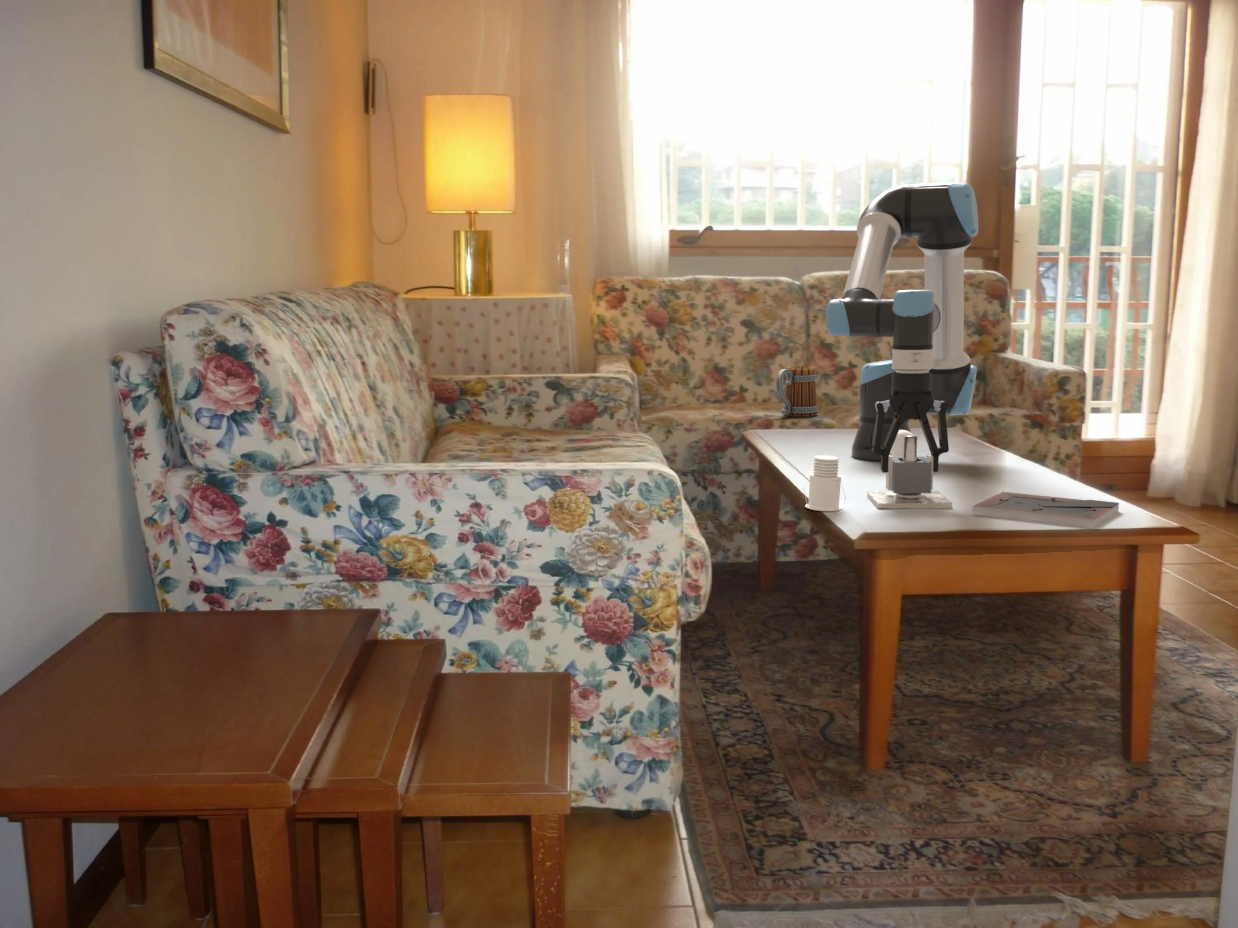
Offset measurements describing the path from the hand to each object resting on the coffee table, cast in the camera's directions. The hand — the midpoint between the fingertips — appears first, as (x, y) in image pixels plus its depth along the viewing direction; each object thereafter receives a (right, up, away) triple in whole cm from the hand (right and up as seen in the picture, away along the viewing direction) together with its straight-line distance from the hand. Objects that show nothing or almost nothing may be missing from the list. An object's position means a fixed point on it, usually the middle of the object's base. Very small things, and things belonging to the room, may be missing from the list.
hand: (908, 488), depth 227 cm
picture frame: (+22, -5, -11) cm, 26 cm away
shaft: (0, -3, 0) cm, 3 cm away
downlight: (-17, -4, -4) cm, 18 cm away
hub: (0, 0, 0) cm, 0 cm away
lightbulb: (+4, +1, +23) cm, 23 cm away
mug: (-2, +19, +132) cm, 134 cm away
